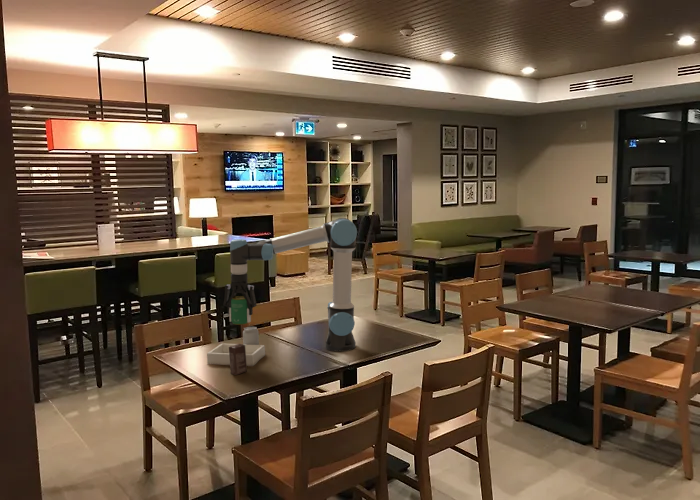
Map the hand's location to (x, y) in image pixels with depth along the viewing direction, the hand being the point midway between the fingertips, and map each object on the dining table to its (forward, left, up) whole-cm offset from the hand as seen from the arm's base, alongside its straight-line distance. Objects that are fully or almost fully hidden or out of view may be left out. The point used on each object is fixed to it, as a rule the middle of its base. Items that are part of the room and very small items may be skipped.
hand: (240, 321), depth 262 cm
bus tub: (+2, +1, -18) cm, 18 cm away
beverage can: (0, 0, -1) cm, 1 cm away
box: (-6, +18, -18) cm, 26 cm away
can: (0, -12, -18) cm, 22 cm away
